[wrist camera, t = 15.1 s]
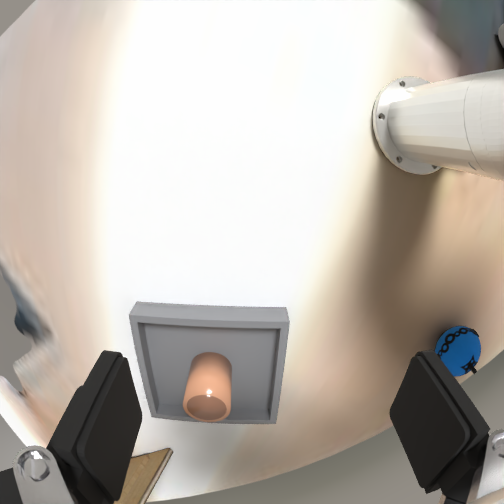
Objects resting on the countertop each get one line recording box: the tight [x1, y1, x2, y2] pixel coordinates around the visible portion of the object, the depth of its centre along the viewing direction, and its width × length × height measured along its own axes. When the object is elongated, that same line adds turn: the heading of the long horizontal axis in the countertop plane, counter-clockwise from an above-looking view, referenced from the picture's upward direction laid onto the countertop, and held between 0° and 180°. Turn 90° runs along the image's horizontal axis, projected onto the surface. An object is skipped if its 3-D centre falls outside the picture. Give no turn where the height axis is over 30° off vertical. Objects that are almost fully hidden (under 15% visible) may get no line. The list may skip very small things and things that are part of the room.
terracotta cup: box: [183, 352, 232, 422], centre depth 38 cm, size 6×6×8 cm
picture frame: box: [114, 448, 173, 504], centre depth 39 cm, size 33×10×30 cm, turn 124°
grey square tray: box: [129, 302, 290, 424], centre depth 42 cm, size 20×20×4 cm
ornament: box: [435, 326, 481, 376], centre depth 39 cm, size 9×9×10 cm
